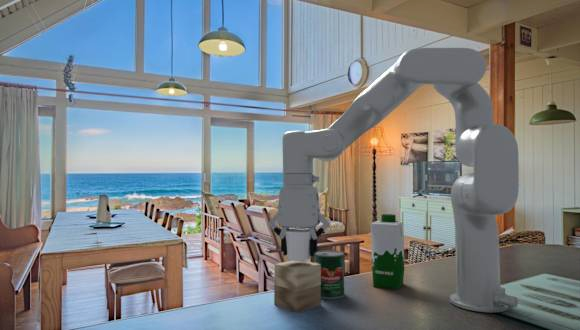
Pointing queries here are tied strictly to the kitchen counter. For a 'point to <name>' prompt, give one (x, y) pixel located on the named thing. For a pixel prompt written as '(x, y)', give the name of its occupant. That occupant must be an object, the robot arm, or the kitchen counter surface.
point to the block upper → (297, 275)
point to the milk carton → (387, 252)
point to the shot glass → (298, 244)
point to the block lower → (297, 298)
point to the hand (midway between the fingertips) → (299, 254)
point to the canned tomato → (331, 273)
